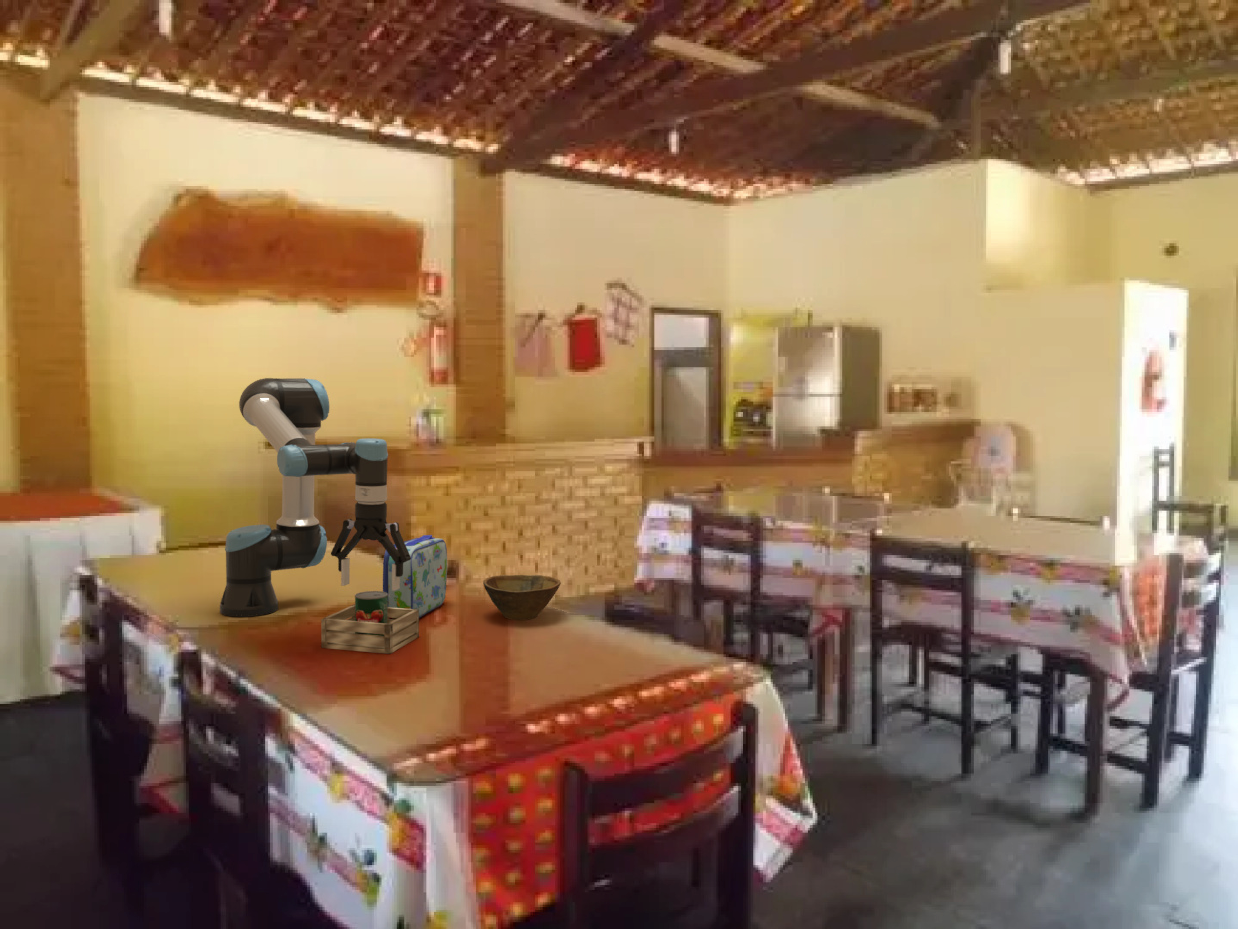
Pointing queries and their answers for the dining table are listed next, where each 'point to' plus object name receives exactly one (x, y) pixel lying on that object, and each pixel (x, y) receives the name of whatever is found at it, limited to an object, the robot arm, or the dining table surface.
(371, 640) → the crate
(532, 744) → the dining table surface
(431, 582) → the lunch box
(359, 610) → the canned tomato
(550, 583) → the bowl
